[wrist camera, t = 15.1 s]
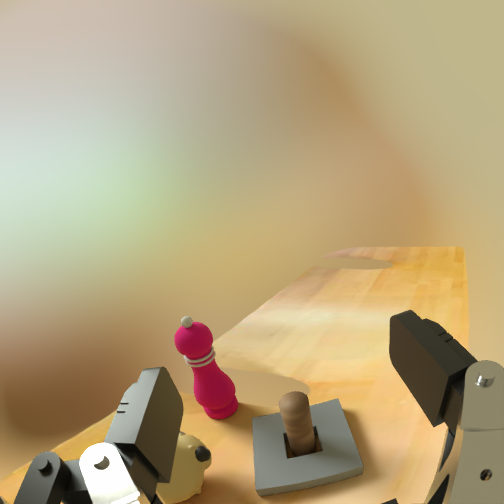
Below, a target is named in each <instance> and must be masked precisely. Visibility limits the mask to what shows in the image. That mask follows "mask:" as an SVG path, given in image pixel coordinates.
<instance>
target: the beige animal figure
mask: <svg viewBox="0 0 504 504" xmlns="http://www.w3.org/2000/svg"><path fill="white" fill-rule="evenodd" d="M210 465H211V452H210V451H209V449H208V448H207V447H206V446H205V445H204V444H203V443H202V442H201V441H200V440H199V439H197V438H196V437H194V436H192V435H187V434H185V433H183V432H181V431H179V436H178V441H177V447H176V452H175V457H174V462H173V468H172V473H171V479H170V483H157V487H156V491H157V492H158V493H159V494H160V496H161V497H162V499H163V500H164V502H165V503H166V504H175V503H178V502H182V501H185V500H187V499H189V498H190V497H192V496H193V495H194V494H199V493H201V491H202V489H201V486H202V483H203V480H204V470H205V469H207V468H208V467H209V466H210Z"/></svg>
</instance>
